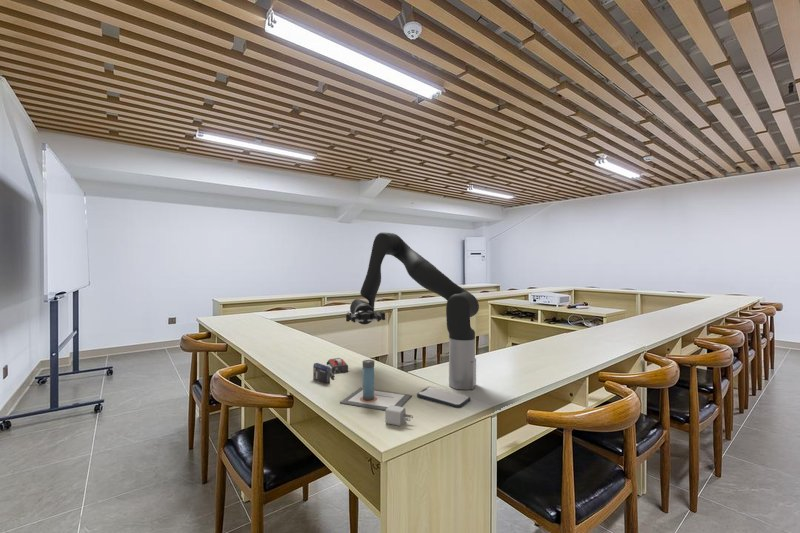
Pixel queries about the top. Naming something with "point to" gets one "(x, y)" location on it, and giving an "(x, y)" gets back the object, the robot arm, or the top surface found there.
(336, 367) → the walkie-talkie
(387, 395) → the grey picture frame
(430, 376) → the top surface
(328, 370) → the mini dv tape
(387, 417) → the usb wall charger
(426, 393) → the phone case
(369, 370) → the bottle
